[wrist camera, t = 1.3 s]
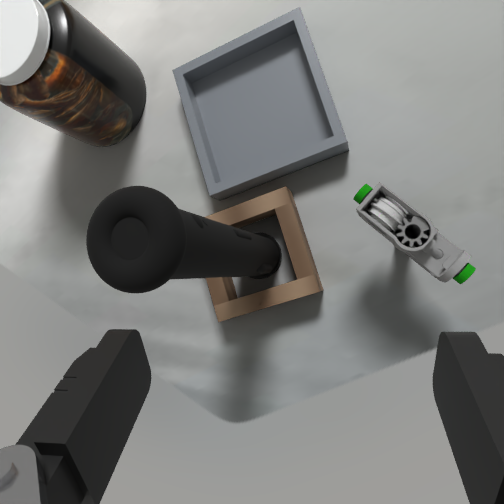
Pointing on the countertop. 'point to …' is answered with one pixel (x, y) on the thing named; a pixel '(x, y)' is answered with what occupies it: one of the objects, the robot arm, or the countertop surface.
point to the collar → (296, 244)
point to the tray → (259, 107)
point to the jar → (67, 72)
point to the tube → (169, 243)
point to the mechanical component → (412, 234)
